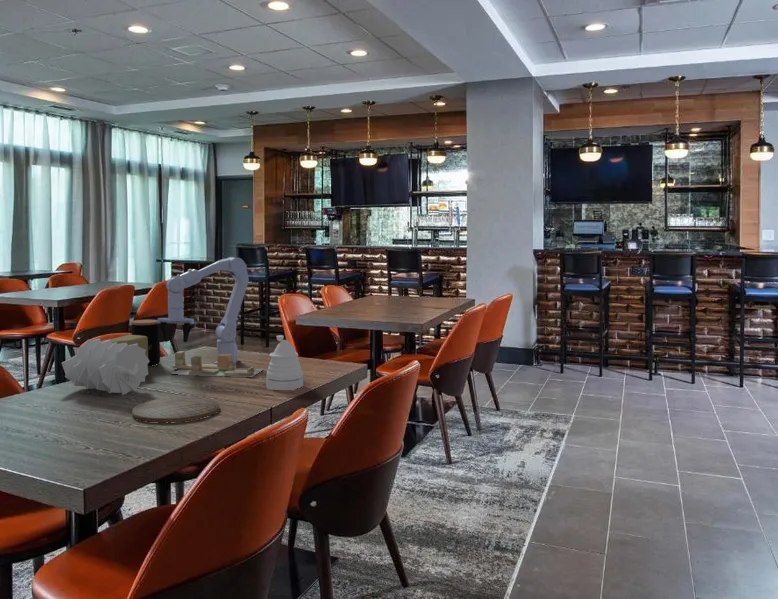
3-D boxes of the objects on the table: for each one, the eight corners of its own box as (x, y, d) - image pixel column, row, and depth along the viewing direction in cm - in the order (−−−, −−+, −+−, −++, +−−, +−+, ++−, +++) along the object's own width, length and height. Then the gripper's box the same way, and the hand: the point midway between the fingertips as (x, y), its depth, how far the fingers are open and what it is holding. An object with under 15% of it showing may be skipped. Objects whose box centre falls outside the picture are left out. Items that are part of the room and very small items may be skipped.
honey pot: (258, 388, 229) (258, 337, 227) (281, 381, 240) (280, 332, 238) (288, 392, 223) (288, 340, 221) (310, 385, 234) (310, 335, 232)
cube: (221, 364, 260) (221, 353, 259) (232, 365, 259) (232, 354, 259) (217, 367, 255) (217, 355, 255) (228, 367, 255) (228, 356, 254)
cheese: (108, 386, 230) (106, 343, 229) (85, 383, 233) (84, 342, 232) (149, 373, 251) (148, 334, 250) (128, 371, 254) (127, 333, 253)
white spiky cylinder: (95, 396, 232) (146, 401, 221) (52, 383, 217) (105, 388, 206) (110, 346, 238) (161, 349, 227) (70, 331, 223) (122, 333, 212)
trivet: (118, 412, 198) (118, 406, 198) (194, 398, 215) (194, 392, 215) (155, 430, 180) (155, 423, 180) (235, 413, 198) (235, 407, 197)
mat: (186, 367, 263) (186, 366, 263) (263, 370, 259) (263, 368, 259) (170, 374, 249) (170, 373, 249) (252, 377, 245) (252, 376, 245)
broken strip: (194, 371, 254) (194, 355, 253) (254, 373, 251) (254, 357, 250) (188, 373, 249) (188, 358, 248) (250, 376, 246) (249, 360, 245)
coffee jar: (126, 366, 264) (125, 322, 262) (143, 361, 274) (142, 319, 272) (149, 368, 260) (147, 323, 259) (165, 363, 271) (164, 320, 269)
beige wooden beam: (178, 365, 262) (177, 350, 262) (236, 367, 259) (235, 352, 259) (172, 368, 257) (172, 353, 257) (231, 370, 254) (231, 355, 254)
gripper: (153, 308, 258) (154, 342, 259) (188, 309, 256) (189, 343, 258) (161, 306, 265) (162, 339, 266) (196, 307, 263) (196, 340, 264)
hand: (176, 341), depth 262 cm, fingers open, 7 cm apart
